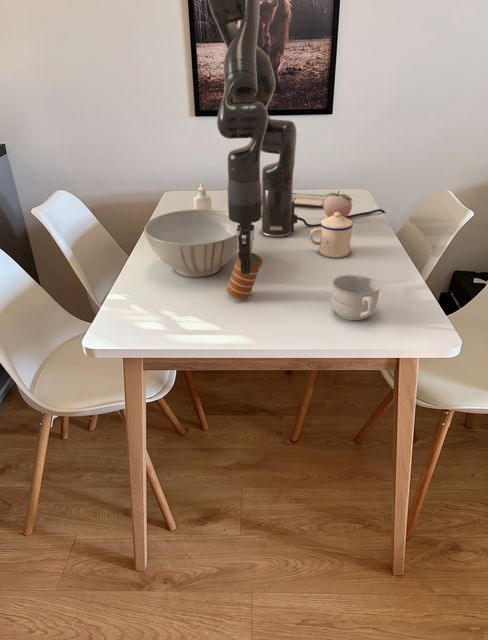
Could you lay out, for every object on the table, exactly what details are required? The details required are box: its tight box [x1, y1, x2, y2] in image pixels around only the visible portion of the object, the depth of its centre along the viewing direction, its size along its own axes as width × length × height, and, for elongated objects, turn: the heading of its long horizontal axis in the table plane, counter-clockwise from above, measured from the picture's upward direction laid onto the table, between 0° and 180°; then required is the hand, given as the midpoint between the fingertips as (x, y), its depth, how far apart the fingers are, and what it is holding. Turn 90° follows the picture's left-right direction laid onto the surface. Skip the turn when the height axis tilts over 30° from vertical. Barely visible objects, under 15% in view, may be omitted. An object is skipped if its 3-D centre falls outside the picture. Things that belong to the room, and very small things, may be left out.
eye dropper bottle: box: [193, 183, 213, 210], centre depth 183 cm, size 4×6×12 cm
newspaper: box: [261, 190, 329, 208], centre depth 201 cm, size 35×12×4 cm, turn 76°
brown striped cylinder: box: [226, 251, 264, 300], centre depth 135 cm, size 10×6×6 cm
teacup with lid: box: [308, 212, 354, 259], centre depth 159 cm, size 12×9×12 cm
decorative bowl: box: [143, 208, 240, 278], centre depth 151 cm, size 27×27×12 cm
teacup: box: [330, 274, 381, 321], centre depth 127 cm, size 14×11×8 cm
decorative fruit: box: [323, 190, 353, 217], centre depth 181 cm, size 9×8×10 cm
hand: (246, 266), depth 134 cm, fingers closed on brown striped cylinder, 6 cm apart
